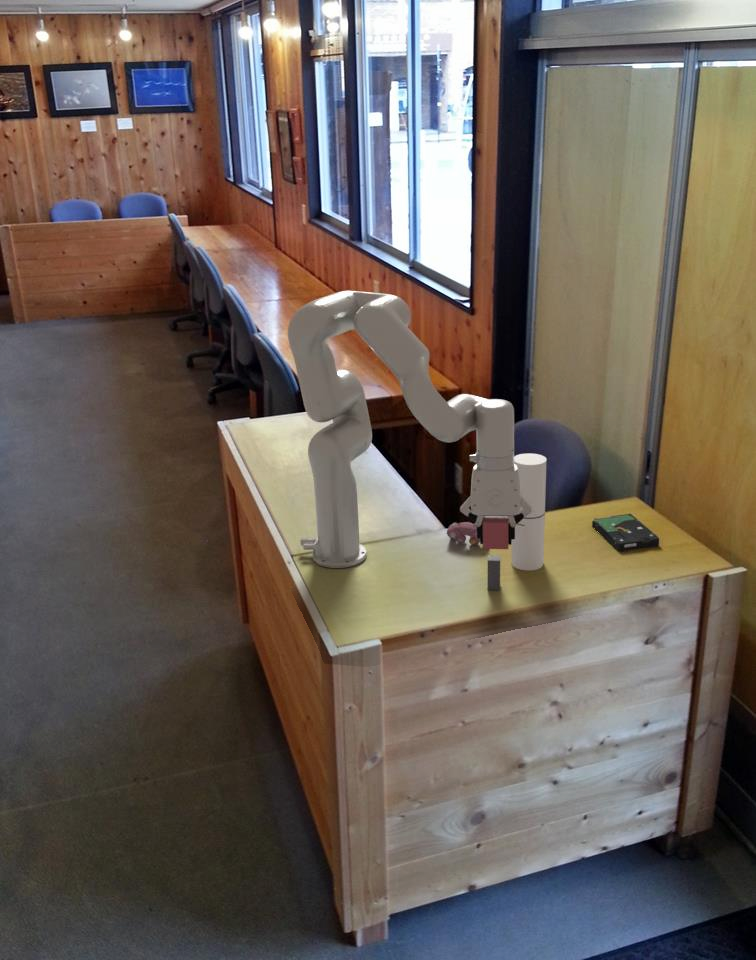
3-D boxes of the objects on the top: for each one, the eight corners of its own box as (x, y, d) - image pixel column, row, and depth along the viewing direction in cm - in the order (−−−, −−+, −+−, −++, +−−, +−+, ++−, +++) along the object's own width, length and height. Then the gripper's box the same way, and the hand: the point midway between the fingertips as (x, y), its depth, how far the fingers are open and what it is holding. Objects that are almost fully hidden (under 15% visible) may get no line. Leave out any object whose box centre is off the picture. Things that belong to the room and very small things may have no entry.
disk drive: (659, 548, 215) (629, 522, 228) (660, 538, 214) (630, 512, 227) (618, 554, 213) (590, 528, 226) (619, 543, 212) (591, 517, 225)
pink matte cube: (483, 548, 193) (482, 522, 191) (484, 538, 198) (483, 512, 196) (508, 549, 192) (508, 522, 190) (508, 538, 197) (508, 512, 195)
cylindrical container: (542, 571, 205) (545, 465, 196) (510, 569, 207) (511, 464, 198) (543, 557, 212) (547, 453, 203) (512, 555, 213) (514, 452, 204)
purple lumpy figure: (447, 548, 222) (443, 529, 217) (451, 533, 225) (448, 514, 220) (488, 552, 219) (485, 534, 214) (492, 537, 221) (489, 518, 216)
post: (487, 589, 198) (487, 560, 196) (488, 584, 201) (488, 555, 198) (499, 590, 198) (500, 560, 195) (500, 584, 200) (500, 555, 198)
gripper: (451, 466, 187) (454, 548, 193) (538, 467, 184) (537, 550, 190) (454, 454, 193) (456, 533, 200) (538, 454, 191) (537, 535, 197)
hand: (496, 541), depth 195 cm, fingers closed on pink matte cube, 5 cm apart
